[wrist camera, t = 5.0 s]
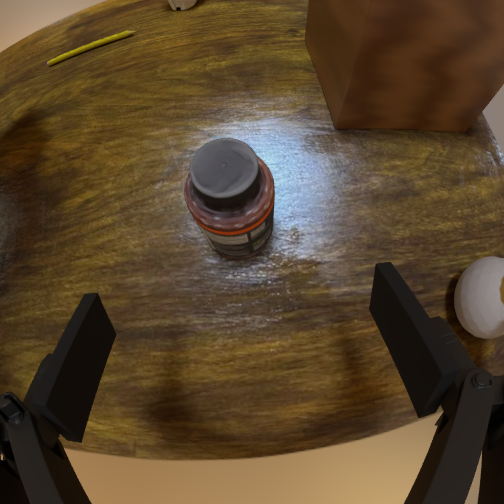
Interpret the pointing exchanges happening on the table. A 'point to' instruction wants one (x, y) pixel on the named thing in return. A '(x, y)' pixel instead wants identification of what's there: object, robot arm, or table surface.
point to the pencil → (89, 46)
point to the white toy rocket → (181, 4)
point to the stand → (407, 61)
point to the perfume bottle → (481, 298)
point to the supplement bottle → (231, 197)
